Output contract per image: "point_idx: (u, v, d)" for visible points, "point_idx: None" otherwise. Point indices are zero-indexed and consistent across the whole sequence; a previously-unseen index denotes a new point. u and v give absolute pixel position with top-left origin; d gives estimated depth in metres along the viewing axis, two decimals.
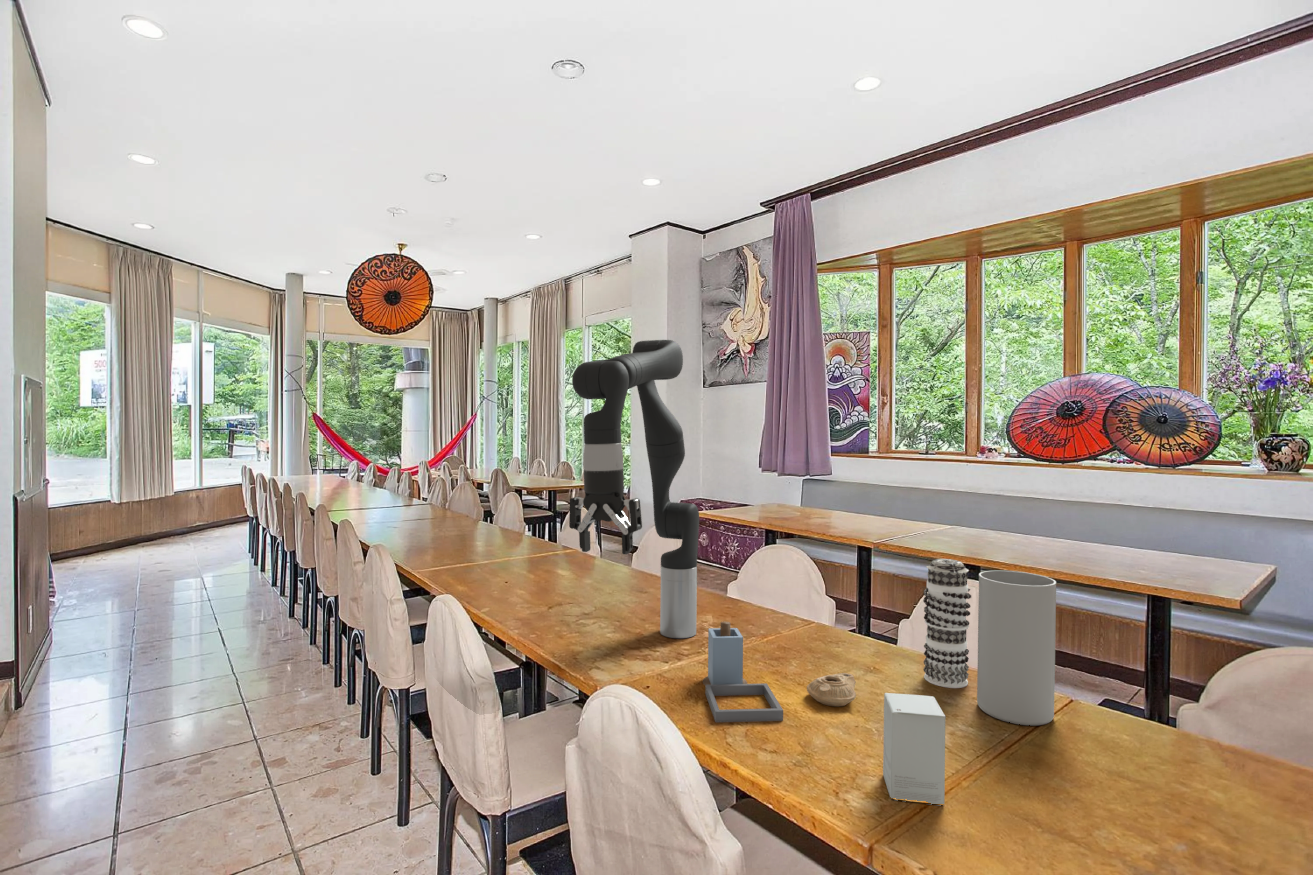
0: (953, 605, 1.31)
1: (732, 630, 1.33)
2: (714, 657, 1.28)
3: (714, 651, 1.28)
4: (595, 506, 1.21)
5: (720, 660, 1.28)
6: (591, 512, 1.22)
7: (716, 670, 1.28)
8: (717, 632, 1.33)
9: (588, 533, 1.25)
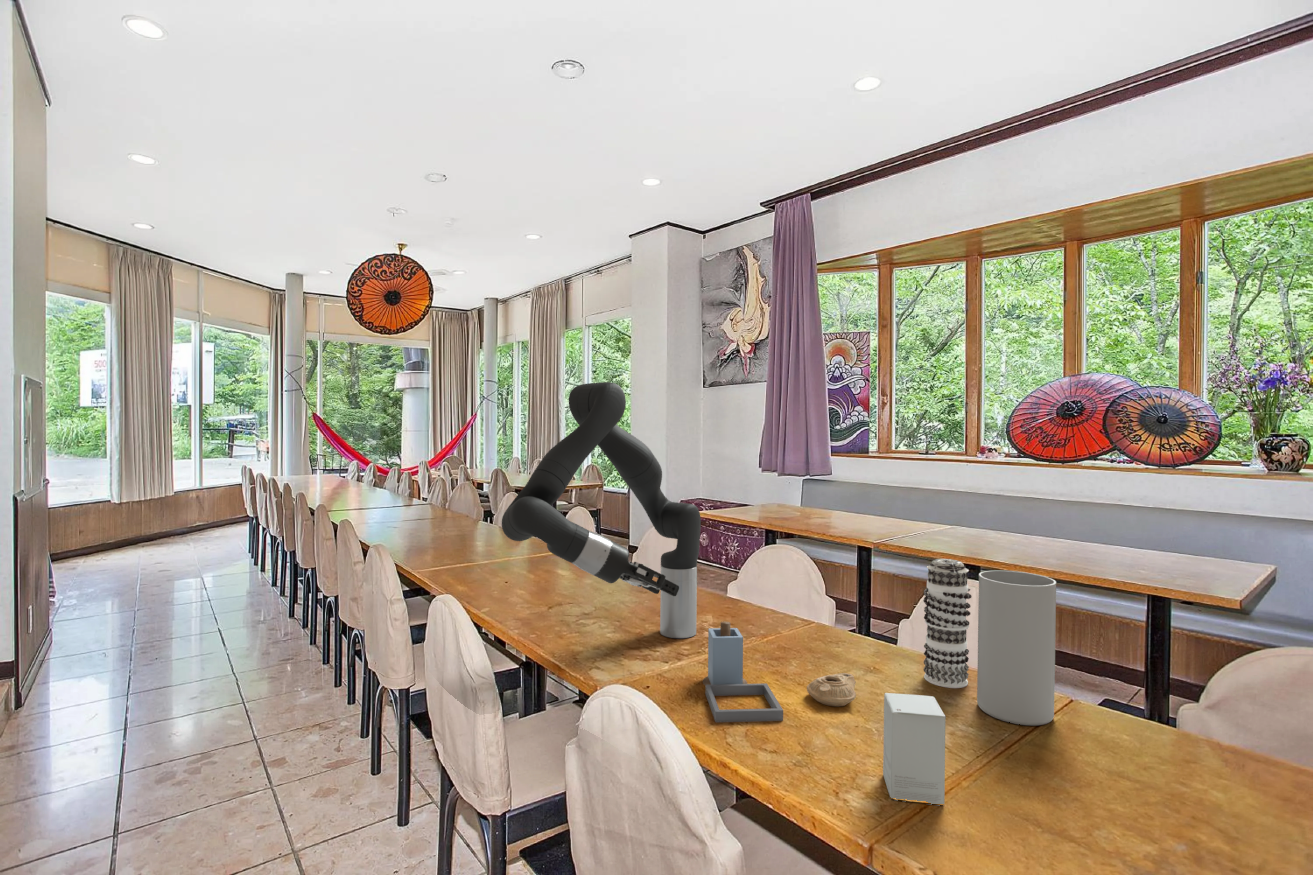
0: (953, 605, 1.31)
1: (732, 630, 1.33)
2: (714, 657, 1.28)
3: (714, 651, 1.28)
4: (624, 580, 1.28)
5: (720, 660, 1.28)
6: (628, 582, 1.30)
7: (716, 670, 1.28)
8: (717, 632, 1.33)
9: None
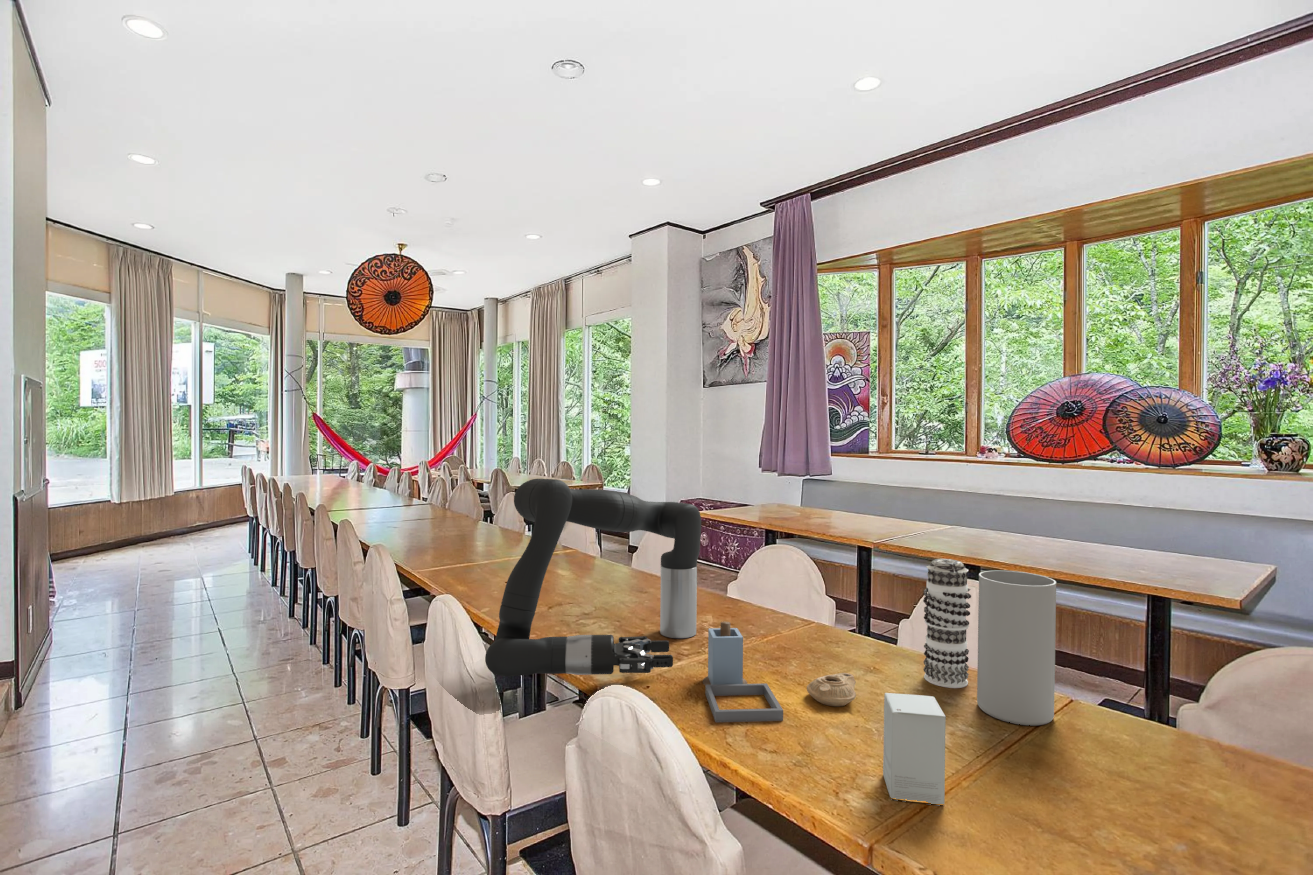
0: (953, 605, 1.31)
1: (732, 630, 1.33)
2: (714, 657, 1.28)
3: (714, 651, 1.28)
4: None
5: (720, 660, 1.28)
6: None
7: (716, 670, 1.28)
8: (717, 632, 1.33)
9: (653, 644, 1.34)
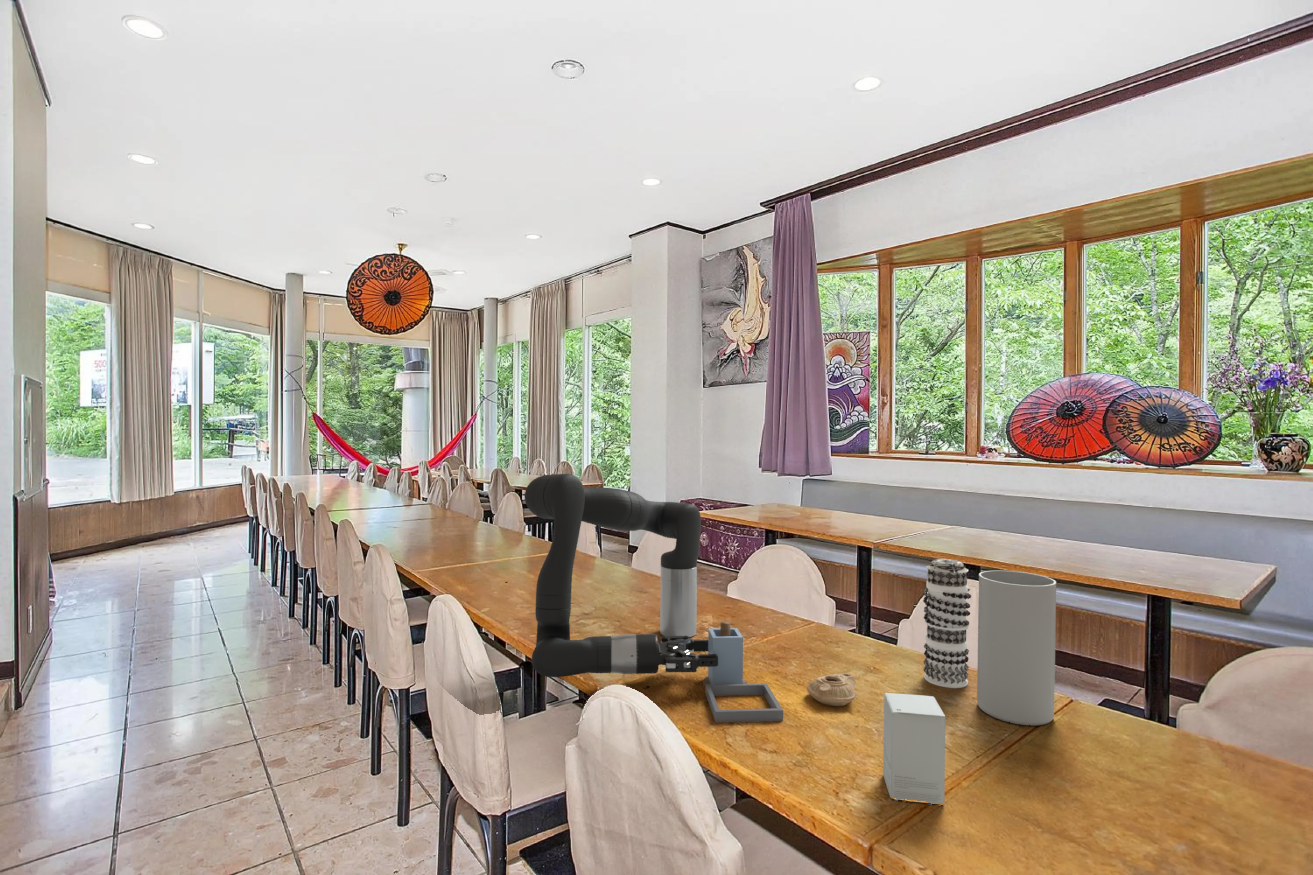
0: (953, 605, 1.31)
1: (732, 630, 1.33)
2: None
3: (714, 651, 1.28)
4: None
5: (720, 660, 1.28)
6: None
7: (716, 670, 1.28)
8: (717, 632, 1.33)
9: (695, 644, 1.34)
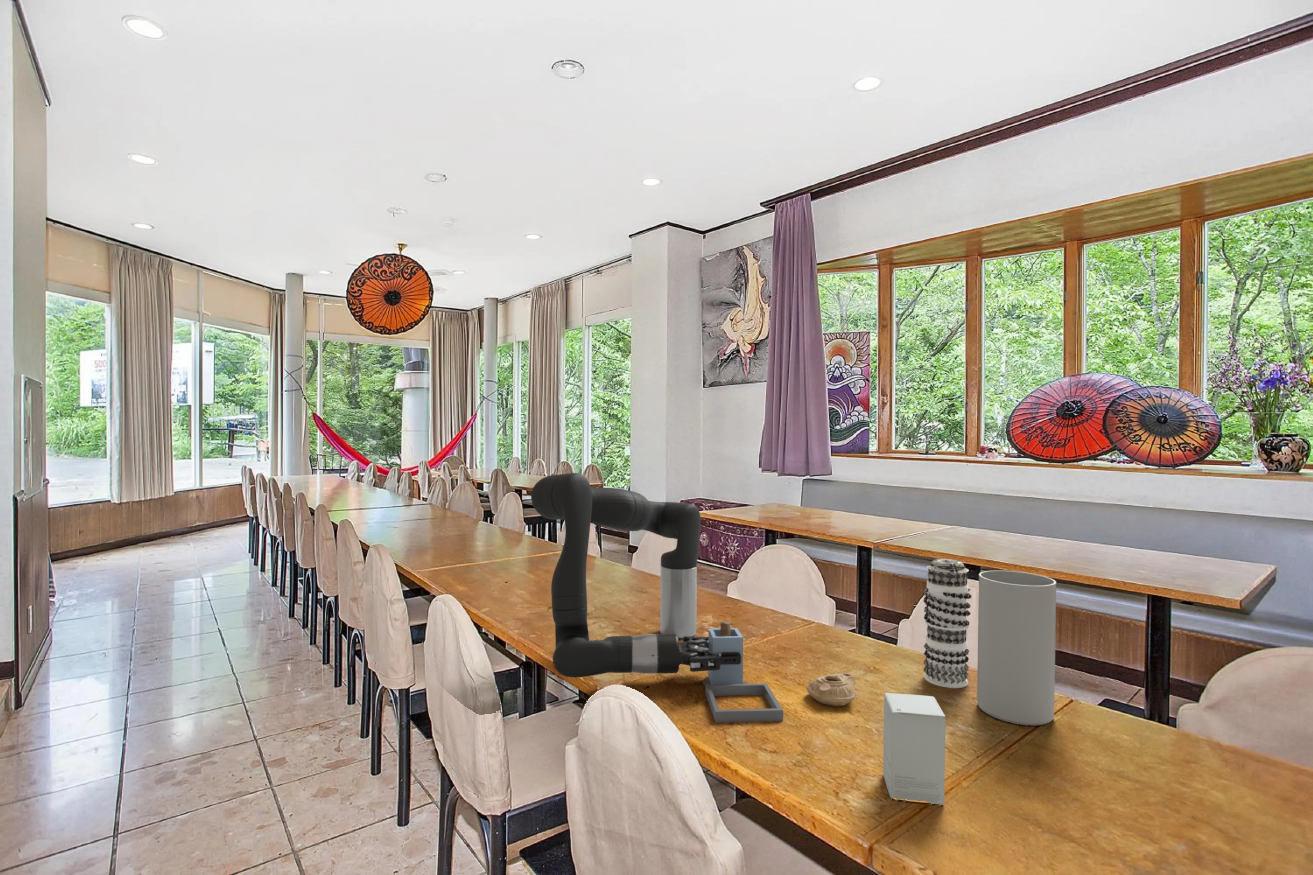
0: (953, 605, 1.31)
1: (732, 630, 1.33)
2: None
3: (714, 651, 1.28)
4: None
5: None
6: None
7: (716, 670, 1.28)
8: (717, 632, 1.33)
9: None
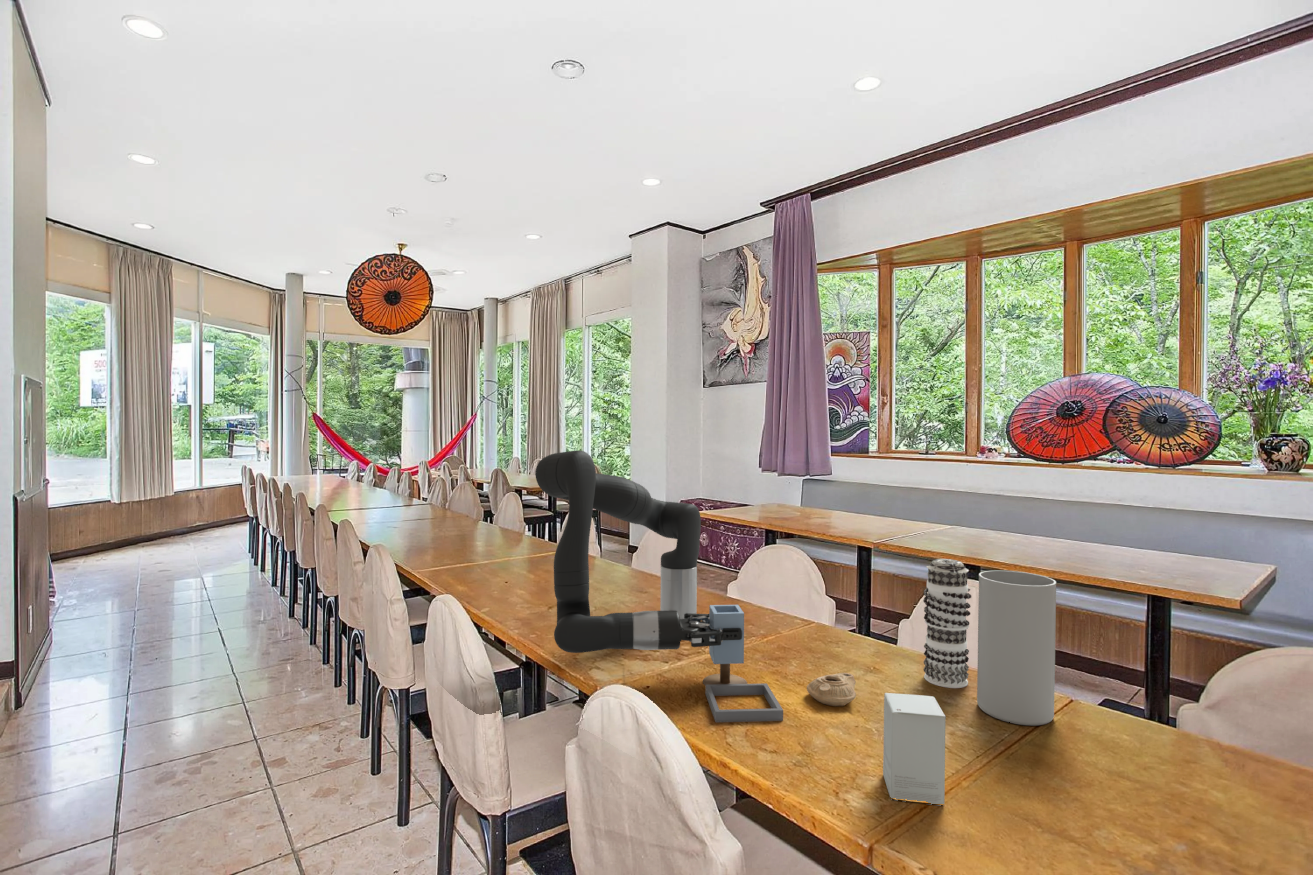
0: (953, 605, 1.31)
1: (733, 607, 1.33)
2: None
3: (715, 627, 1.28)
4: None
5: None
6: None
7: (717, 646, 1.28)
8: (718, 609, 1.33)
9: None
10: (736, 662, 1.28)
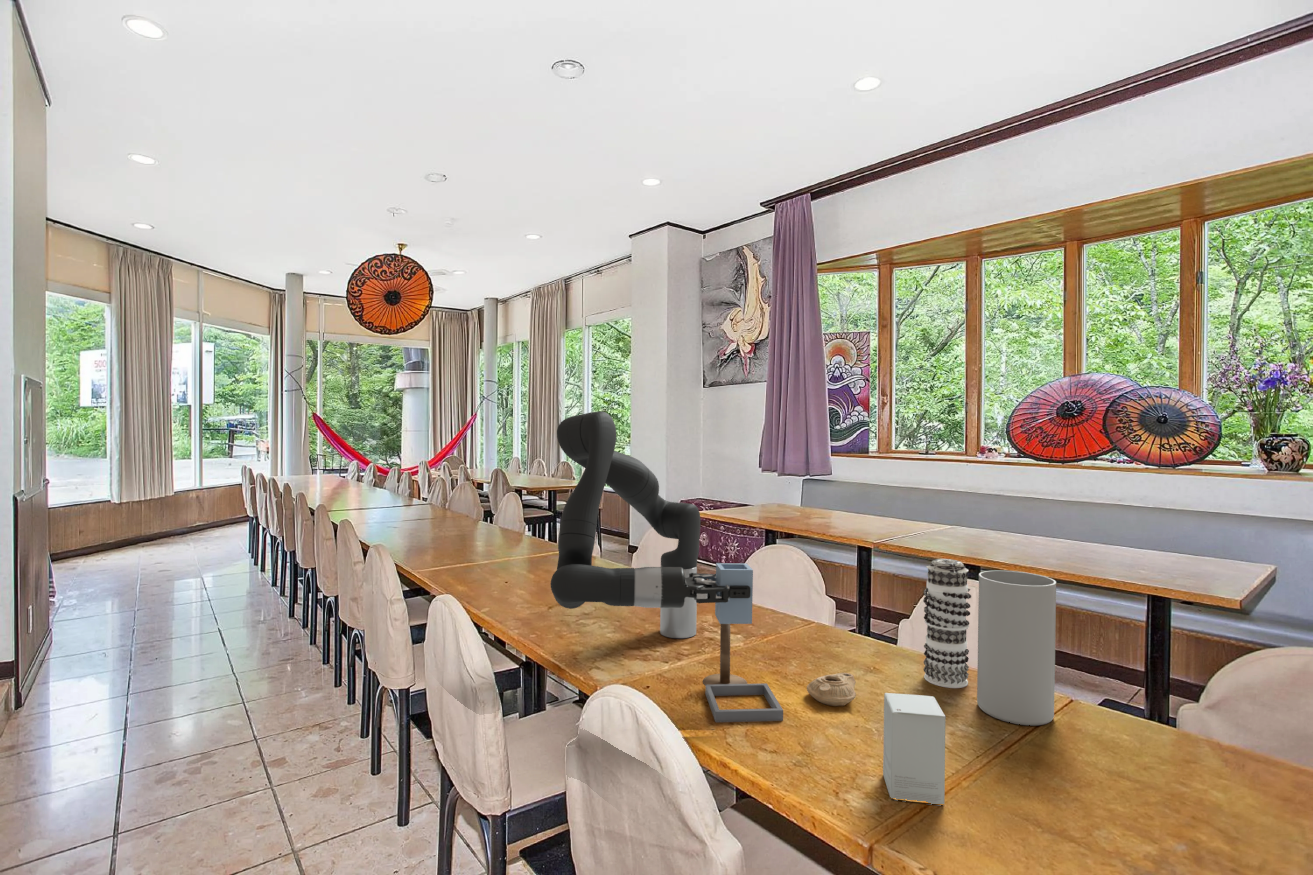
0: (953, 605, 1.31)
1: (741, 565, 1.25)
2: None
3: (722, 584, 1.20)
4: None
5: None
6: None
7: (724, 605, 1.20)
8: (725, 567, 1.25)
9: None
10: (744, 622, 1.20)
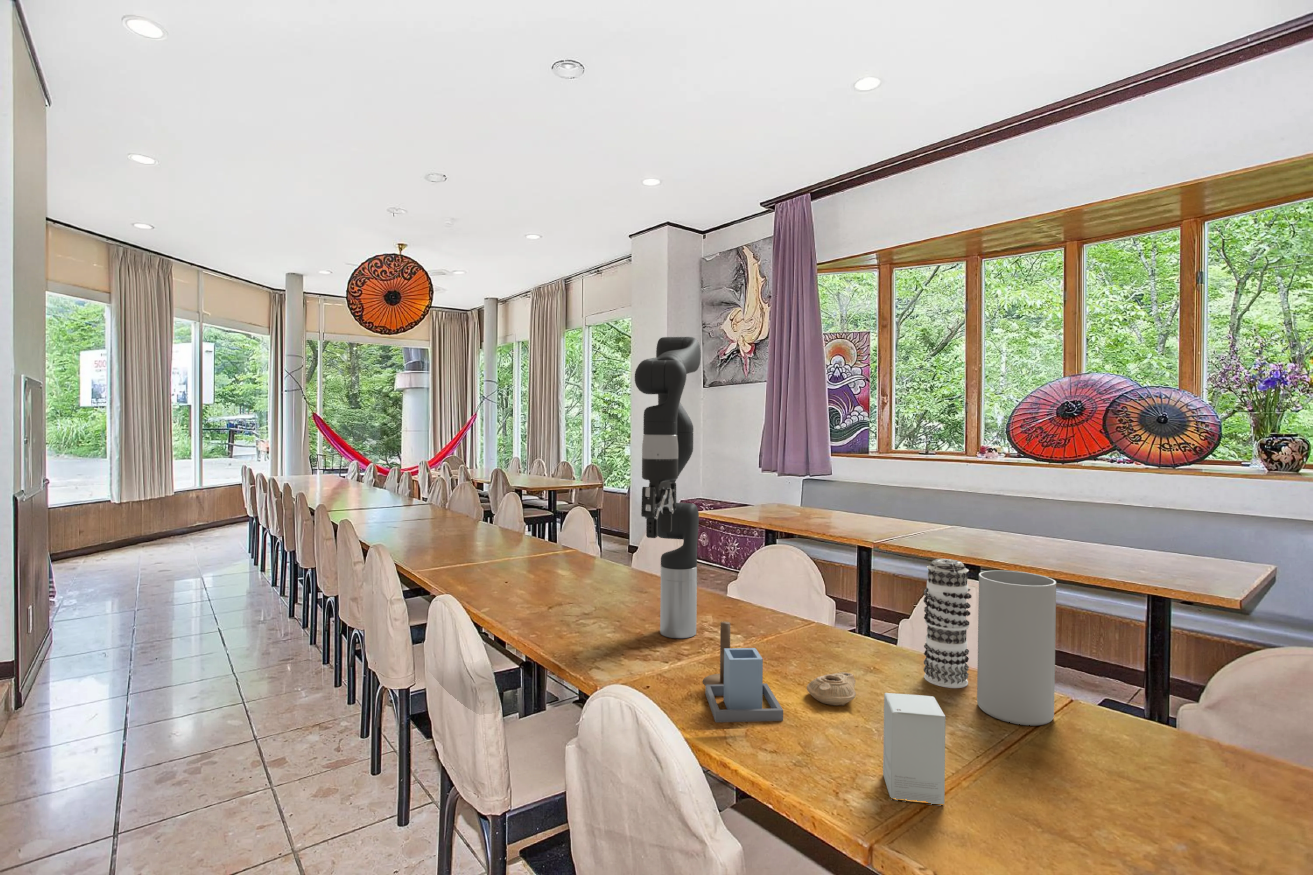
0: (953, 605, 1.31)
1: (750, 650, 1.22)
2: (731, 681, 1.16)
3: (731, 674, 1.16)
4: None
5: (738, 684, 1.16)
6: None
7: (733, 696, 1.16)
8: (733, 653, 1.21)
9: (668, 516, 1.38)
10: None
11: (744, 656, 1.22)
